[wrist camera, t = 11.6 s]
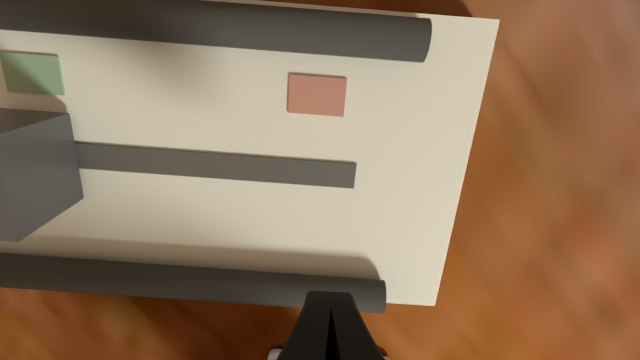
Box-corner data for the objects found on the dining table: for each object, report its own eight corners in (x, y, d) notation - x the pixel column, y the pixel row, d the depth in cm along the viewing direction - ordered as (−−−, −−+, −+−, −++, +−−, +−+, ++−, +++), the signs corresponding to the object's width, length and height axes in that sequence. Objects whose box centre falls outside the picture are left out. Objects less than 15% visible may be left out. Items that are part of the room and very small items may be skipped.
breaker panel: (423, 277, 22) (435, 307, 20) (-20, 246, 22) (-64, 272, 19) (476, 22, 17) (501, 19, 15) (-99, -25, 17) (-171, -35, 14)
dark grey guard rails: (378, 299, 20) (383, 320, 18) (-4, 272, 19) (-32, 292, 18) (423, 18, 15) (434, 17, 13) (-88, -22, 14) (-135, -29, 13)
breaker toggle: (84, 198, 17) (17, 242, 14) (19, 193, 17) (-65, 236, 14) (69, 113, 16) (-9, 136, 12) (-1, 107, 16) (-101, 129, 12)
